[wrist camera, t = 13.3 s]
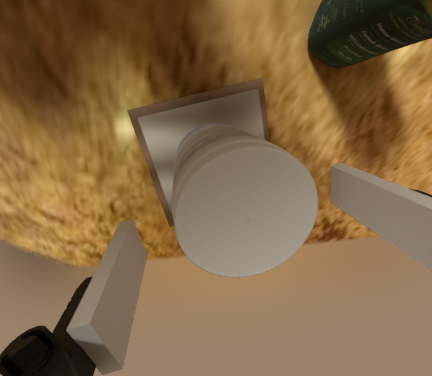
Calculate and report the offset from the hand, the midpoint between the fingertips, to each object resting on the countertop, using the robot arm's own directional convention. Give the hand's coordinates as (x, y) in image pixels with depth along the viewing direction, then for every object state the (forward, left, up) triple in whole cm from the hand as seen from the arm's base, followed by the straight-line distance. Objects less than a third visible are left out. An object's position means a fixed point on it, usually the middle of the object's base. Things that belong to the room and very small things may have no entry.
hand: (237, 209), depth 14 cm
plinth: (0, 0, -18) cm, 18 cm away
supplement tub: (0, 0, -14) cm, 14 cm away
